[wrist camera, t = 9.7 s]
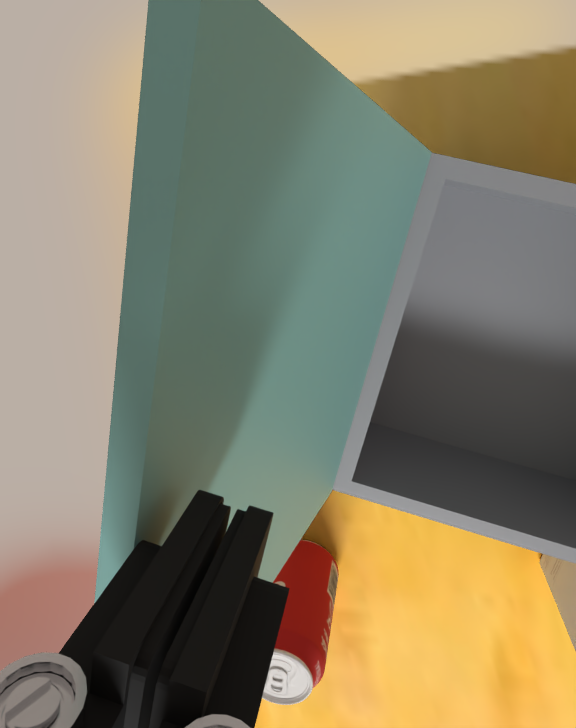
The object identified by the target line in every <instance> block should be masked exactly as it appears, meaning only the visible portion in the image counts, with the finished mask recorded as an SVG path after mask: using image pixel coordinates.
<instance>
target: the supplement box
mask: <svg viewBox="0 0 576 728" xmlns="http://www.w3.org/2000/svg"><path fill="white" fill-rule="evenodd" d="M540 565H541V568H542V570H543V572H544V575H545V577H546V580H547V582H548V585H549V587H550V590H551V592H552V594H553V597H554V599H555V602H556V604H557V607H558V609H559V612H560V614H561V616H562V619H563V621H564V624H565V626H566V629H567V631H568V634H569V636H570V639H571V641H572V644H573V646H574V648H575V651H576V564H575V563H572V562H568V561H565V560H562V559H558V558H555V557H552V556H549V555H545V554H543V555H542V557H541V560H540Z"/></svg>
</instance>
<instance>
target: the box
mask: <svg viewBox="0 0 576 728" xmlns="http://www.w3.org/2000/svg"><path fill="white" fill-rule="evenodd" d="M332 490H335V491H338V492H341V493H345V494H348V495H351V496H354V497H358V498H361V499H364V500H368V501H371V502H374V503H377V504H381V505H384V506H387V507H391V508H394V509H397V510H400V511H404V512H407V513H410V514H414V515H417V516H420V517H424V518H427V519H430V520H433V521H437V522H440V523H443V524H447V525H450V526H453V527H456V528H460V529H463V530H466V531H470V532H473V533H476V534H479V535H483V536H486V537H489V538H493V539H496V540H499V541H502V542H506V543H509V544H512V545H516V546H519V547H522V548H526V549H529V550H532V551H535V552H539V553H542V554H545V555H549V556H552V557H555V558H558V559H562V560H565V561H568V562H572V563H575V564H576V184H573V183H569V182H564V181H559V180H555V179H550V178H546V177H541V176H536V175H532V174H527V173H523V172H518V171H513V170H509V169H504V168H500V167H495V166H491V165H486V164H481V163H477V162H472V161H468V160H463V159H458V158H454V157H449V156H445V155H440V154H435V153H431V157H430V160H429V164H428V167H427V170H426V174H425V177H424V180H423V184H422V187H421V191H420V194H419V197H418V201H417V204H416V208H415V211H414V214H413V218H412V221H411V225H410V228H409V231H408V235H407V238H406V241H405V245H404V248H403V252H402V255H401V258H400V262H399V265H398V269H397V272H396V275H395V279H394V282H393V285H392V289H391V292H390V296H389V299H388V302H387V306H386V309H385V313H384V316H383V319H382V323H381V326H380V330H379V333H378V336H377V340H376V343H375V346H374V350H373V353H372V357H371V360H370V363H369V367H368V370H367V374H366V377H365V380H364V384H363V387H362V390H361V394H360V397H359V401H358V404H357V407H356V411H355V414H354V418H353V421H352V424H351V428H350V431H349V435H348V438H347V441H346V445H345V448H344V451H343V455H342V458H341V462H340V465H339V468H338V472H337V475H336V479H335V482H334V485H333V489H332Z"/></svg>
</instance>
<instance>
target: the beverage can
mask: <svg viewBox="0 0 576 728" xmlns="http://www.w3.org/2000/svg"><path fill="white" fill-rule="evenodd" d="M337 581H338V567H337V564H336V562H335V560H334V558H333V557H332V555H331V554H330V553H329V552H328V551H327V550H326V549H324V548H323V547H322V546H320V545H318V544H316V543H314V542H312V541H308V540H300V541H299V543H298V544H297V546H296V547H295V549H294V550H293V552H292V554H291V555H290V557H289V558H288V560H287V561H286V563H285V564H284V566H283V567H282V569H281V571H280V572H279V574H278V575H277V577H276V578H275V580H274V581H273V583H275V584H278V585H281V586H284V587H287V588H290V589H289V594H288V598H287V602H286V605H285V609H284V613H283V617H282V621H281V625H280V629H279V633H278V637H277V641H276V645H275V648H274V652H273V656H272V660H271V664H270V668H269V672H268V676H267V680H266V684H265V688H264V691H263V695H262V698H263V699H265V700H267V701H270V702H273V703H276V704H282V705H291V704H296V703H299V702H301V701H303V700H305V699H306V698H307V697H308V696H309V695H310V693H311V691H312V688H313V687H315V686H316V685H317V684H318V683H319V681H320V680H321V678H322V676H323V674H324V670H325V664H326V657H327V650H328V643H329V636H330V629H331V623H332V616H333V609H334V602H335V595H336V588H337Z"/></svg>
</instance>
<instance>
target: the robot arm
mask: <svg viewBox="0 0 576 728" xmlns="http://www.w3.org/2000/svg"><path fill="white" fill-rule="evenodd" d="M223 503H224V497H222V496H219V495H216V494H212V493H209V492H206V491H203V490H198V491H197V493H196V494H195V496H194V497H193V499H192V500H191V502H190V503H189V505H188V506H187V508H186V510H185V511H184V513H183V514H182V516H181V517H180V519H179V520H178V522H177V523H176V525H175V527H174V528H173V530H172V531H171V533H170V534H169V536H168V537H167V539H166V540H165V542H164V544H163V545H162V546H160V545H157V544H154V543H151V542H148V541H145V540H142V541H140V542H139V543H138V544H137V546H136V547H135V548H134V549H133V551H132V552H131V554H130V555H129V556H128V558H127V559H126V560H125V562H124V563H123V565H122V566H121V567H120V569H119V570H118V572H117V573H116V574H115V576H114V577H113V579H112V580H111V581H110V583H109V584H108V585H107V587H106V588H105V590H104V591H103V592H102V594H101V595H100V597H99V598H98V599H97V601H96V602H95V604H94V605H93V606H92V608H91V609H90V610H89V612H88V613H87V615H86V616H85V617H84V619H83V620H82V622H81V623H80V624H79V626H78V627H77V629H76V630H75V631H74V633H73V634H72V635H71V637H70V638H69V640H68V641H67V642H66V644H65V645H64V647H63V648H62V650H61V651H60V652H59V654H58V653H38V654H33V655H29V656H25V657H23V658H21V659H19V660H17V661H15V662H13V663H11V664H9V665H8V666H6V667H5V668H4V669H3V670H1V671H0V728H254V727H255V723H256V719H257V715H258V711H259V707H260V703H261V699H262V695H263V691H264V688H265V684H266V680H267V676H268V672H269V668H270V664H271V660H272V656H273V652H274V648H275V645H276V641H277V637H278V633H279V629H280V625H281V621H282V617H283V613H284V609H285V605H286V602H287V598H288V594H289V589H290V588H287V587H284V586H281V585H278V584H275V583H272V582H269V581H266V580H263V579H260V578H258V574H259V570H260V566H261V562H262V558H263V554H264V550H265V546H266V542H267V539H268V535H269V531H270V527H271V523H272V519H273V514H274V513H273V512H270V511H267V510H263V509H260V508H257V507H254V506H251V505H249V506H248V508H247V510H246V511H243V510H240V509H237V511H236V513H235V515H234V517H233V519H232V521H231V523H230V525H229V527H228V529H227V526H228V521H229V516H230V511H231V507H230V506H227V505H224V504H223ZM226 530H227V531H226Z"/></svg>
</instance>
